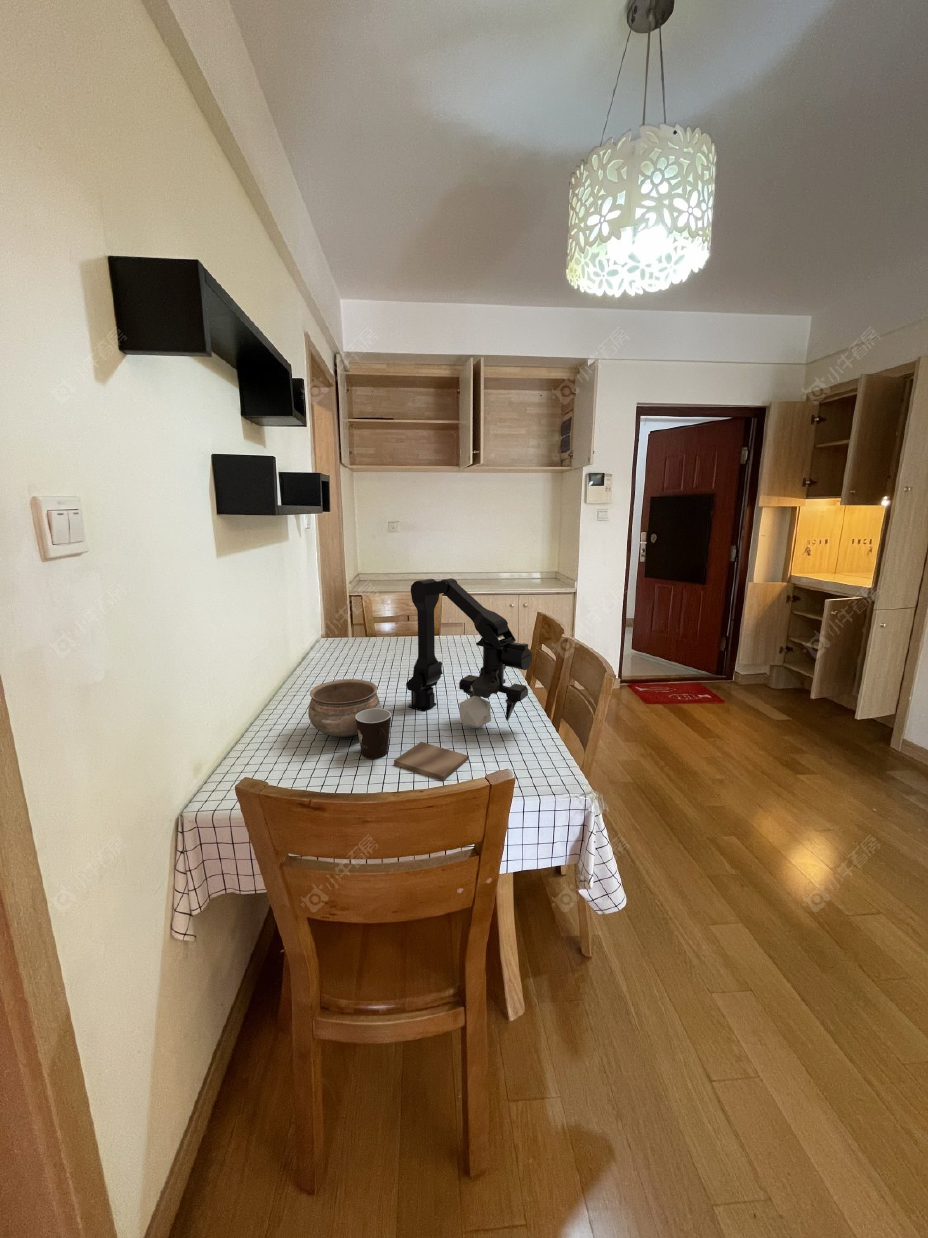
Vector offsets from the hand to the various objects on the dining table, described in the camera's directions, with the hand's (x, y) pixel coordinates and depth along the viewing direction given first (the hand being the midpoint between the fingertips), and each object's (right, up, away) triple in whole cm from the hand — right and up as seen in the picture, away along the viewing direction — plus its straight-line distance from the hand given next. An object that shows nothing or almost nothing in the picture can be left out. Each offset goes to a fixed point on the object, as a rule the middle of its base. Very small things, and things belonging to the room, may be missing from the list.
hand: (492, 716), depth 135 cm
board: (-16, -7, -19) cm, 26 cm away
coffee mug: (-30, -7, -16) cm, 35 cm away
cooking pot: (-40, -4, -3) cm, 40 cm away
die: (-5, -4, -1) cm, 6 cm away
